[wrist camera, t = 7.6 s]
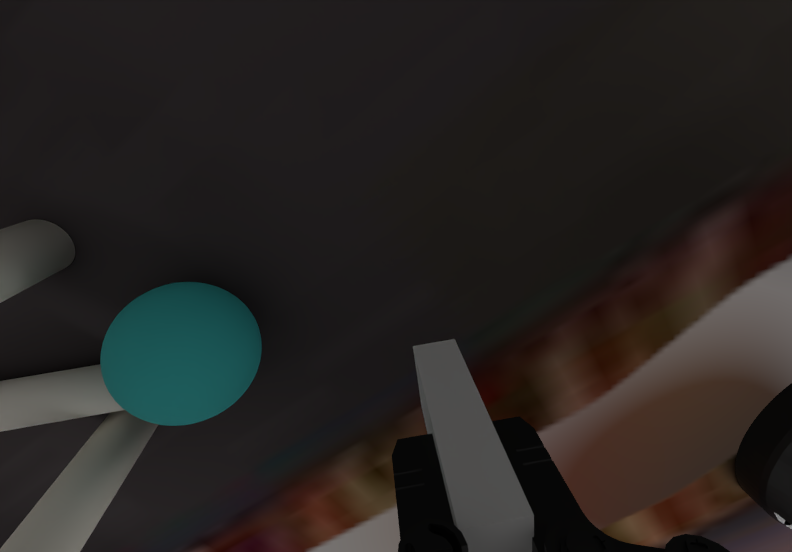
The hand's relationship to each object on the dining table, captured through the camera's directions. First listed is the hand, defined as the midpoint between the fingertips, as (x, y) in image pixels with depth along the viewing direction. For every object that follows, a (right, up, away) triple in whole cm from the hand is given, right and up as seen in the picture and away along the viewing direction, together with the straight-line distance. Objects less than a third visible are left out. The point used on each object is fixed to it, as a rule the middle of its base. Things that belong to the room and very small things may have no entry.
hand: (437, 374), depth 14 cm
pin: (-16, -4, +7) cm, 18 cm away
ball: (-10, 0, +3) cm, 11 cm away
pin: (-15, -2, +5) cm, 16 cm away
